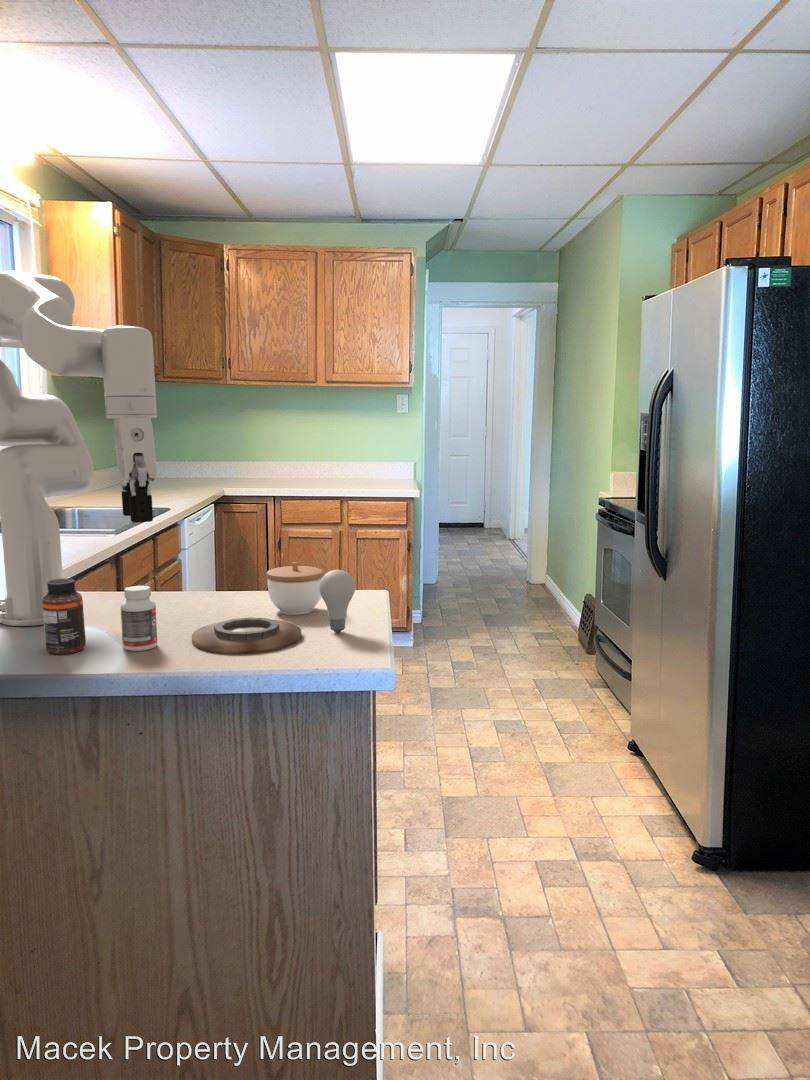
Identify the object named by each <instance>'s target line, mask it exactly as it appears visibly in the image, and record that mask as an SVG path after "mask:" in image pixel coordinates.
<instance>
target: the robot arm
mask: <svg viewBox="0 0 810 1080" xmlns="http://www.w3.org/2000/svg"><path fill="white" fill-rule="evenodd" d="M75 303H76V302H75V297H74V294H73V292H72V289H71V287H70V286H69V285H68V284H67V283H66V282H65V281H64V280H62V279H61V278H58V277H56V276H51V275H45V274H38V273H33V272H32V273H31V272H25V271H24V272H23V271H17V270H5V271H4V270H3V271H0V348H11V349H12V348H13V349H24V351H25V353H26V354H25V355H27V356H28V357H29V359H31V360H32V361H34V363H36V364H37V365H39V366H40V367H42V368H43V369H44V370H46V371H48V372H50V373H52V374H55V375H58V376H62V377H86V378H87V377H90V378H103V390H104V405H105V418H106V419H113V420H114V421H113V425H114V442H115V453H116V454H115V455H116V457H115V458H116V464H117V465H116V466H117V474H118V478H119V479H120V480H121V489H122V491H121V502H122V503H121V506H122V514H123V516H125V517H128V516H129V517H130V521H131V523H134V524H135V523H150V522H153V520H154V515H153V514H154V512H153V497H152V494H151V493H152V492H151V485H150V482H152V483H155V482H156V481H157V480H158V469H157V457H156V448H155V447H156V446H155V437H154V429H153V423H152V419H157V418H158V415H157V397H156V396H157V395H156V377H155V360H154V359H155V358H154V357H155V356H154V341H153V335H152V333H151V332H150V330H148V329H147V328H145V327H141V326H130V325H116V326H114V325H113V326H109V327H107V328H105V329H101V328H100V329H99V328H93V327H92V328H91V327H81V326H73V321H74V319H73V317H74V316H73V315H74V311H75V309H76V308H75V305H76V304H75ZM0 447H4V448H2V449H0V524H1V525H0V526H1V536H2V537H1V539H2V540H1V541H2V550H3V551H2V552H3V563H4V574H5V575H4V577H5V588H6V589H5V591H6V593H4V597H0V612H1V613H0V624H3V625H4V626H12V627H32V626H33V627H34V626H44V618H43V605H42V600H43V597H44V596H46V595H47V593H48V586H47V583H48V582H49V581H51V580H56V579H64V578H63V577H64V576H63V562H62V547H61V533H60V523H59V519H58V516H57V515H56V513H55V512H54V510H53V509H52V507H50V505H49V504H48V502H47V501H46V499H45V498H50V497H58V496H60V497H61V496H69V495H78V494H81V493H84V492H86V491H87V490H88V489H89V488H90V487H91V486H92V483H93V482H94V476H95V475H94V474H95V471H94V463H93V461H92V457H91V455H90V453H89V450H88V448H87V445H86V443H85V440H84V437H83V436H82V434H81V431H80V429H79V427H78V424H77V422H76V420H75V418H74V416H73V413H72V412H71V410H70V408H69V406H68V405H67V404H66V403H65V402H64V401H63V400H62V399H61V398H59V397H57V396H55V395H51V394H41V393H26V392H23V391H22V390H21V389H20V388H19V386H18V384H17V382H16V380H15V376H14V374H13V372H12V370H10V369H9V367H8V366H7V364H6V363H4V361H2V359H0Z"/></svg>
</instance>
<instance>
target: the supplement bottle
mask: <svg viewBox="0 0 810 1080" xmlns="http://www.w3.org/2000/svg"><path fill="white" fill-rule="evenodd" d="M75 582H76V581H75V579H72V578H63V579H56V580H51V581H49V582H48V583H47V586H48V593H47V595H46V596H44V597H43V600H42V605H43V618H44V625H43V628H44V640H45V651H47V653H48V654H52V655H55V656H56V655H57V656H58V655H60V656H61V655H68V654H74V653H75V654H76V653H78V652H81V651H82V650H84V649H85V648H86V646H87V645H86V644H87V642H86V641H87V640H86V639H87V638H86V628H85V627H86V626H85V615H84V602H83V601H84V600H83V596H82V594H81V592H79V591H77V590H76V589H75V588H76V583H75Z"/></svg>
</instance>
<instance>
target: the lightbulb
mask: <svg viewBox="0 0 810 1080" xmlns="http://www.w3.org/2000/svg"><path fill="white" fill-rule="evenodd" d="M319 591H320V594H321V598H322V600H323V602H324V604H325V606H326V609H327V615H328V618H329V628H330V630H331V631H333V632H334V633H336V634H340V633H341V632H342V631H344V630H345V629H346V618H347V615H348V608H349V604H350V603H351V600H352V599H353V596H354V595H355V591H356V584H355V580H354V578H353V577H352V576H351V574H349V572H347V571H344V569H343V570H342V569H331V570H330V571H328V572H326V573H325V574H324V576H323V577H322V579H321V581H320V584H319Z"/></svg>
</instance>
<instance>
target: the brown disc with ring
mask: <svg viewBox="0 0 810 1080" xmlns="http://www.w3.org/2000/svg"><path fill="white" fill-rule="evenodd" d="M301 638H302V628H301V627H300V626H299V625H297V624H295V623H292V622H290V621H285V620H278V619H270V618H267V617H241V618H232V619H228V620H223V621H219V622H214V623H212V624H207V625H204V626H201V627H200V628H197V629H196V630H194V631H193V632H192V633H191V644H192V646H194V647H195V648H197V649H199V650H201V651H205V652H210V653H215V654H231V655H239V654H240V655H242V654H244V655H245V654H258V653H266V652H272V651H276V650H280V649H283V648H284V649H285V648H288V647H290V646H292V645H294V644H297V643H298V642H299V641H300V640H301Z"/></svg>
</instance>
